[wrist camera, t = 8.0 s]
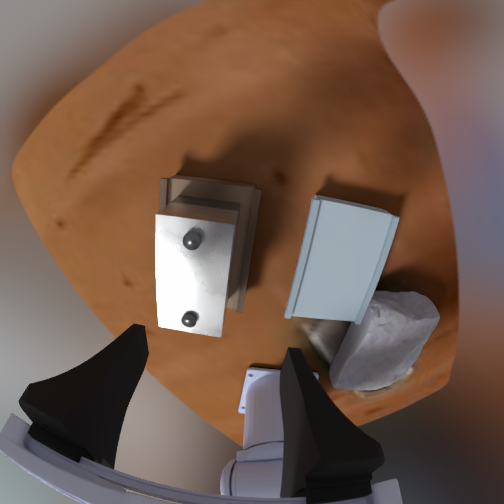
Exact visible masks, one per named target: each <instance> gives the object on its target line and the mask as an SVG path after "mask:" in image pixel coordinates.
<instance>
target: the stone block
mask: <svg viewBox="0 0 504 504" xmlns="http://www.w3.org/2000/svg"><path fill="white" fill-rule="evenodd" d="M439 319H440V316H439V313H438V311H437V308H436V307H435V305H434V304H433V302H432V301H431V300H430V299H428V297H426V296H425V295H421V294H419V293H417V292H414V291H411V292H399V293H394V292H390V291H374V294H373V296H372V298H371V301H370V303H369V306H368V308H367V310H366V313H365V315H364V317H363V320H362V322H361V324H355V322H354V321H352V322H351V324H350V326H349V328H348V331H347V333H346V335H345V337H344V339H343V341H342V343H341V346H340V348H339V350H338V351H337V353H336V355H335V357H334V359H333V361H332V363H331V365H330V370H329V377H330V380H331V382H332V386H333V387H334V388H339V389H348V390H376V389H379V388H382V387H384V386H389V385H391V384H392V383H393V382H396V381H398V380H399V379H400V378H402V377H403V376H404V375H405V374H406V373H407V371H408V369H409V368H410V367H411V366H412V365H413V364H414V362H415V361H416V359H417V358H418V356H419V354H420V352H421V350H422V346H423V345H424V344H425V342H426V341H427V340H428V338H429V336H430V334H431V332H432V331H433V330H434V328H435V327H436V325H437V323H438V321H439Z"/></svg>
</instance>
